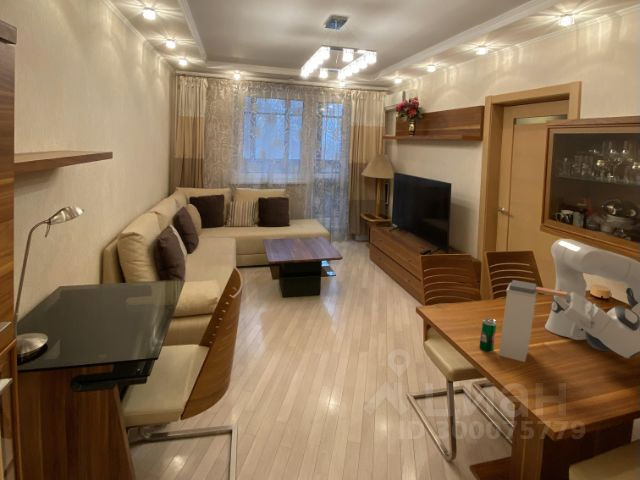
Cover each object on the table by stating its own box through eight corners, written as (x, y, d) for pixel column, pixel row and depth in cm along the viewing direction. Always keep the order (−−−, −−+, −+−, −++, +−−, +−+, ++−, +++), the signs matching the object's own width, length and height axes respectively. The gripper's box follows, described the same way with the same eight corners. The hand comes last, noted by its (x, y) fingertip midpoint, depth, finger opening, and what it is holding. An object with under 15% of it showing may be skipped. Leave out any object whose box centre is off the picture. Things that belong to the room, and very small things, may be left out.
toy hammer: (567, 293, 150) (567, 289, 149) (566, 299, 143) (566, 295, 143) (512, 283, 159) (512, 279, 159) (509, 289, 152) (509, 285, 152)
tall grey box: (528, 352, 161) (538, 287, 155) (525, 362, 153) (535, 295, 147) (501, 345, 166) (510, 282, 160) (497, 355, 158) (506, 289, 152)
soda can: (476, 346, 164) (480, 317, 162) (489, 346, 165) (493, 317, 162) (482, 352, 159) (486, 323, 157) (495, 352, 160) (499, 323, 157)
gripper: (586, 337, 136) (547, 309, 141) (586, 316, 153) (551, 292, 158) (600, 324, 133) (561, 295, 138) (599, 304, 150) (563, 279, 155)
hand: (556, 293), depth 148 cm, fingers open, 8 cm apart
